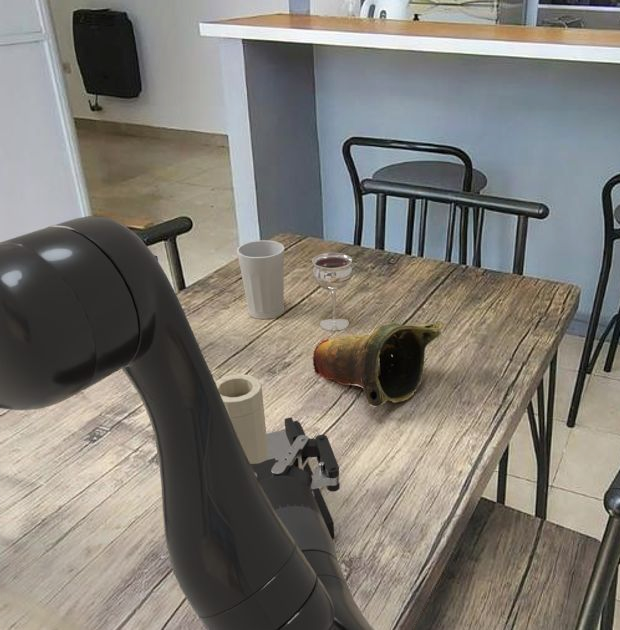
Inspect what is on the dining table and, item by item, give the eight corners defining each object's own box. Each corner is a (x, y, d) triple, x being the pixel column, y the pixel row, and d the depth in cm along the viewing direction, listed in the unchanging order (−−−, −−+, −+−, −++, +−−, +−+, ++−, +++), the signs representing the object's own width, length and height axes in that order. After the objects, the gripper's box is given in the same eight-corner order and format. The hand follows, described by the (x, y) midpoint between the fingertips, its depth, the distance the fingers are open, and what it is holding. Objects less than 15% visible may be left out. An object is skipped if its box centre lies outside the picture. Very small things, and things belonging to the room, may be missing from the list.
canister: (226, 494, 76) (213, 406, 71) (218, 464, 81) (206, 379, 75) (274, 482, 78) (265, 395, 73) (264, 453, 83) (255, 369, 77)
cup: (239, 304, 124) (233, 243, 119) (283, 298, 127) (278, 238, 122) (248, 324, 118) (241, 260, 112) (293, 316, 121) (289, 254, 115)
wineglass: (308, 329, 117) (304, 265, 111) (324, 312, 123) (321, 250, 117) (345, 336, 115) (343, 271, 110) (359, 318, 121) (358, 255, 115)
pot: (340, 294, 109) (431, 290, 98) (372, 345, 115) (461, 346, 104) (279, 370, 98) (373, 375, 88) (317, 422, 104) (409, 433, 93)
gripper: (363, 487, 58) (312, 389, 71) (190, 535, 53) (169, 419, 66) (364, 551, 62) (315, 446, 75) (203, 601, 57) (180, 479, 70)
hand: (247, 433), depth 71 cm, fingers open, 8 cm apart
